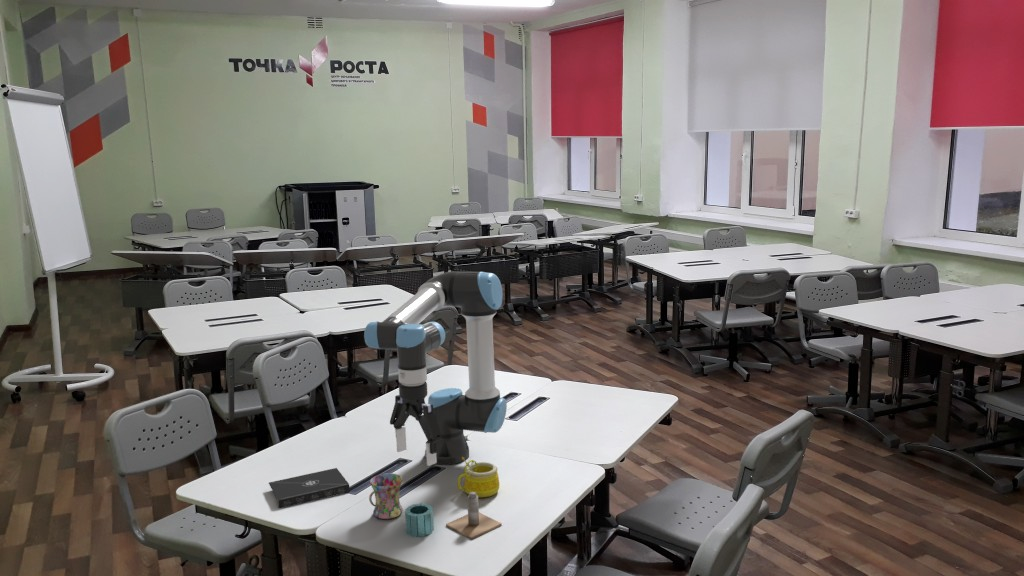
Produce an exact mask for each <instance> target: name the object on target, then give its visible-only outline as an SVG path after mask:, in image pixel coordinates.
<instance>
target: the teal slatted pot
mask: <svg viewBox="0 0 1024 576" xmlns="http://www.w3.org/2000/svg"><path fill="white" fill-rule="evenodd" d="M404 513H405V530H406V531H405V532H406V534H407V535H409V536H410V537H415V538H420V537H425V536H428V535H430V534H432V533H433V531H434V530H435V529H434V527H435V526H434V525H435V524H434V509H433V506H432V505H430V504H427V503H415V504H411V505H408V506H407V507H406V508H405V510H404Z"/></svg>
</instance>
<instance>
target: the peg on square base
mask: <svg viewBox="0 0 1024 576" xmlns="http://www.w3.org/2000/svg"><path fill="white" fill-rule="evenodd" d="M445 526H446V527H447V528H449V529H451V530H453V531H455V532H457V533H459V534H460V535H462V536H464V537H466V538H468V539H470V540H471V541H472V540H474V539H476V538H478V537H480V536H482V535H484V534H486V533H489V532H491V531H493V530H494V529H497V528H499V527H501V526H503V525H502V523H501V522H499V521H498V520H496V519H494V518H491V517H490V516H488V515H485V514H483V513H481V512H480V511H479V497H478V496H477V495H476V492H470V493H469V494H468V495H467V514H466V515H463V516H461V517H459V518H456V519H453V520H452V521H450V522H448V523H447V522H446V524H445Z"/></svg>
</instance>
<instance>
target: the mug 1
mask: <svg viewBox="0 0 1024 576" xmlns="http://www.w3.org/2000/svg"><path fill="white" fill-rule="evenodd" d="M402 482H403V477H402V476H401V475H400V474H398V473H393V472H391V473H387V472H385V473H381V474H377V475H375V476H373V477H372V478H371V479H370V480H369V484H370V486H371V488H372V492H370V494H369V497H368V499H369V503H370V504H371V506H374V509H373V512H372V513H373V515H374V517H376V518H379V519H384V520H389V519H394V518H396V517H398V516H400V515H401V514H402V513H403V511H404V510H403V506H402V505H401V502H400V490H401V489H400V488H401V486H402ZM373 496H374V498H375V504H374V502H373V501H372V497H373Z"/></svg>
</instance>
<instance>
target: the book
mask: <svg viewBox="0 0 1024 576" xmlns="http://www.w3.org/2000/svg"><path fill="white" fill-rule="evenodd" d="M268 485H269V487H270V488H271V491H272V493H273V494H274V496H275V498H276V501H277V505H278V506H277V507H278V509H283V508H287V507H291V506H294V505H295V506H296V505H300V504H304V503H308V502H313V501H317V500H321V499H325V498H331V497H334V496H338V495H343V494H347V493H350V492H351V490H350V489H351V488H350V483H349V482H348V481H347V480H346V478H345V477H344V476H343V474H342V473H341V472H340V470H339V469H338V468H337V467H334V468H329V469H325V470H322V471H321V470H320V471H316V472H311V473H306V474H302V475H297V476H294V477H293V476H292V477H289V478H283V479H279V480H278V479H277V480H274V481H270V482H268Z"/></svg>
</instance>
